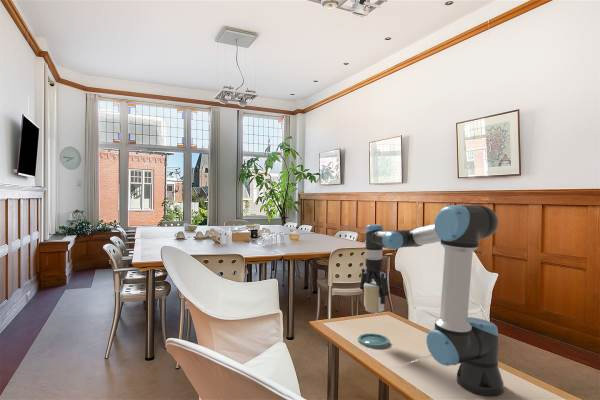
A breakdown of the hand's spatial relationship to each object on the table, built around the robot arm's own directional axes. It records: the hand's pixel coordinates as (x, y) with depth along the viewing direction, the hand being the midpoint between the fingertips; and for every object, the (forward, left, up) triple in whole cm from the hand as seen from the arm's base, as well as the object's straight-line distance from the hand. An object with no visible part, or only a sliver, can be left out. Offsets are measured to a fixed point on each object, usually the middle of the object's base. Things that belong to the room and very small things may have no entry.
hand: (373, 308), depth 165 cm
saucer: (0, 0, -15) cm, 15 cm away
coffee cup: (0, 0, -1) cm, 1 cm away
